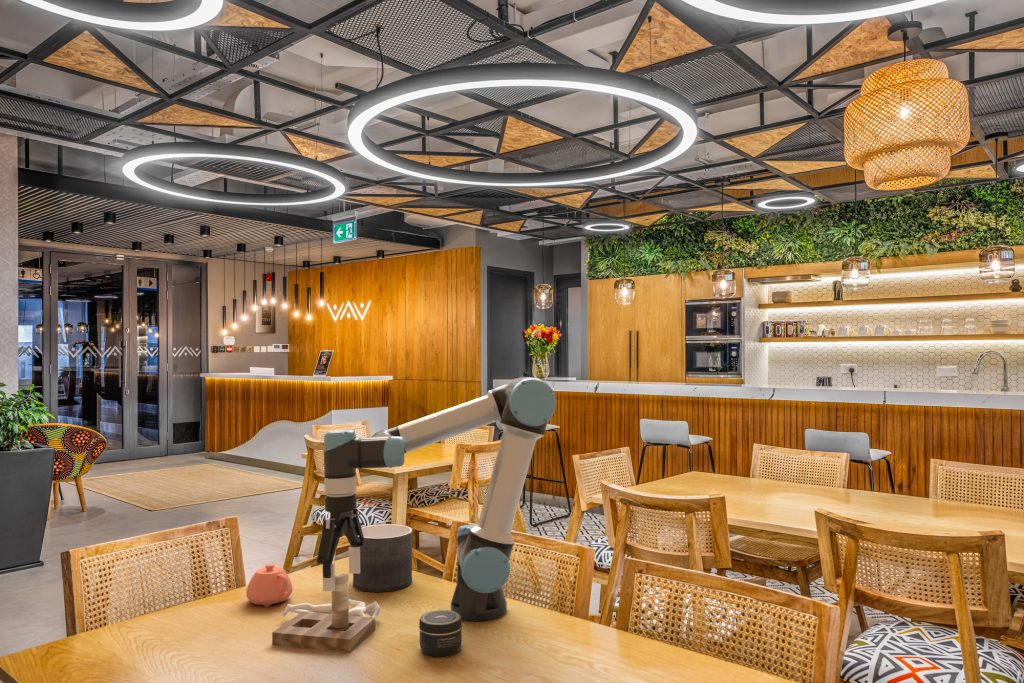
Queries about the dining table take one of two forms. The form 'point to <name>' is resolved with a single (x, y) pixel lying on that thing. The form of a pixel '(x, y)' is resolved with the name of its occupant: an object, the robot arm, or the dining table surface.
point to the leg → (340, 603)
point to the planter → (385, 558)
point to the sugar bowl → (269, 586)
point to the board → (322, 632)
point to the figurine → (327, 609)
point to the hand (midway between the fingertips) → (342, 581)
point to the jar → (440, 633)
